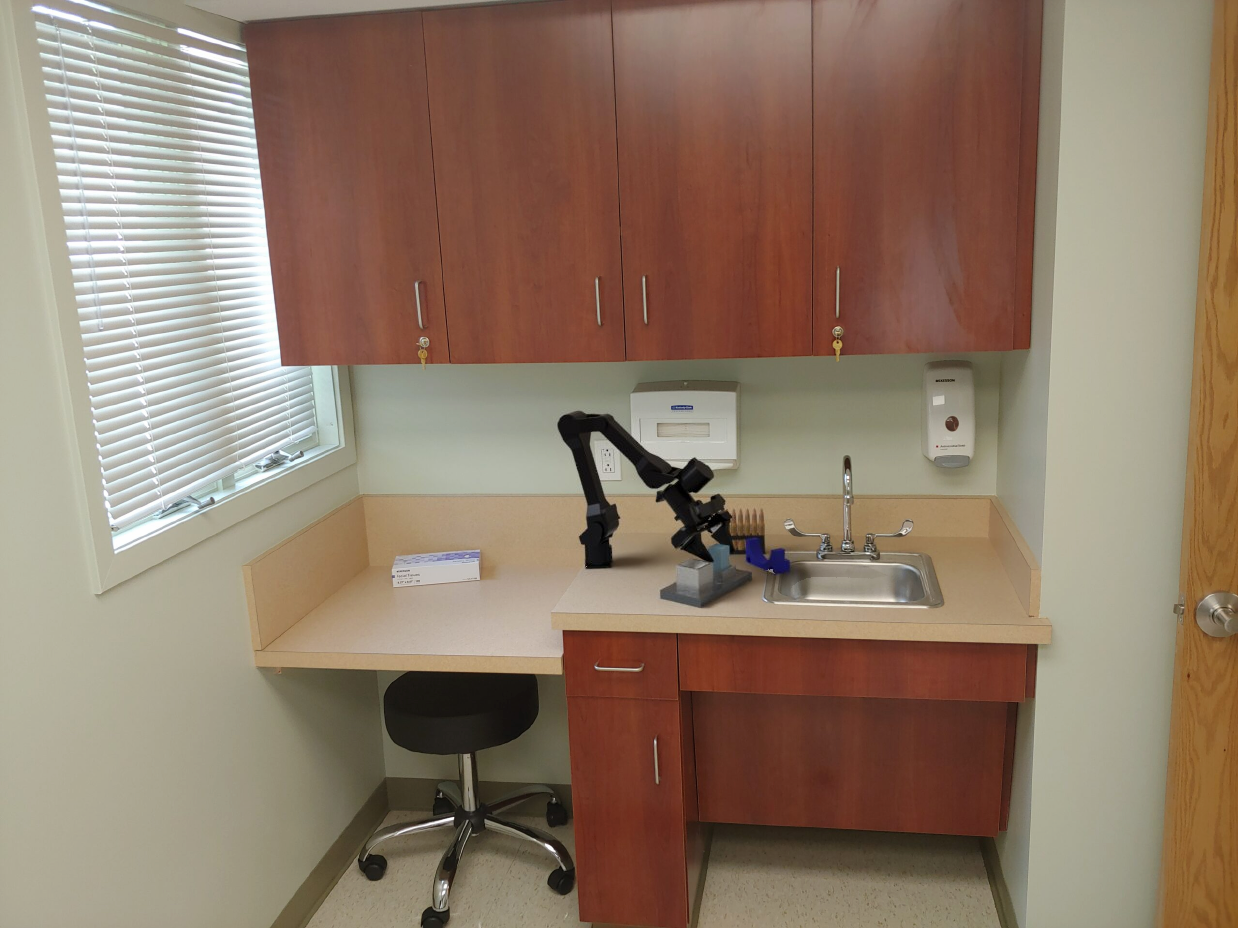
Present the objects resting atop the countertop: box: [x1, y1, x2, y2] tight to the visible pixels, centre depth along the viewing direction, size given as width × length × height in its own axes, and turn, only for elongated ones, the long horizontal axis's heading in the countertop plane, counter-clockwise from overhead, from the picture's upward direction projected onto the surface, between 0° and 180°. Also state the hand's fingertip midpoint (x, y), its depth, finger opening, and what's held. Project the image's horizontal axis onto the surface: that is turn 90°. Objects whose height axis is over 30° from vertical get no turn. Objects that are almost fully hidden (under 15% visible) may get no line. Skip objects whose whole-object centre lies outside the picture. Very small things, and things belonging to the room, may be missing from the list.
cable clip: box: [745, 538, 791, 575], centre depth 242 cm, size 12×4×6 cm, turn 28°
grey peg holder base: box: [659, 557, 753, 609], centre depth 227 cm, size 22×11×8 cm, turn 142°
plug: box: [707, 542, 730, 571], centre depth 230 cm, size 4×4×7 cm
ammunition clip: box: [725, 507, 766, 556], centre depth 252 cm, size 11×2×12 cm, turn 86°
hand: (723, 557), depth 229 cm, fingers open, 9 cm apart
